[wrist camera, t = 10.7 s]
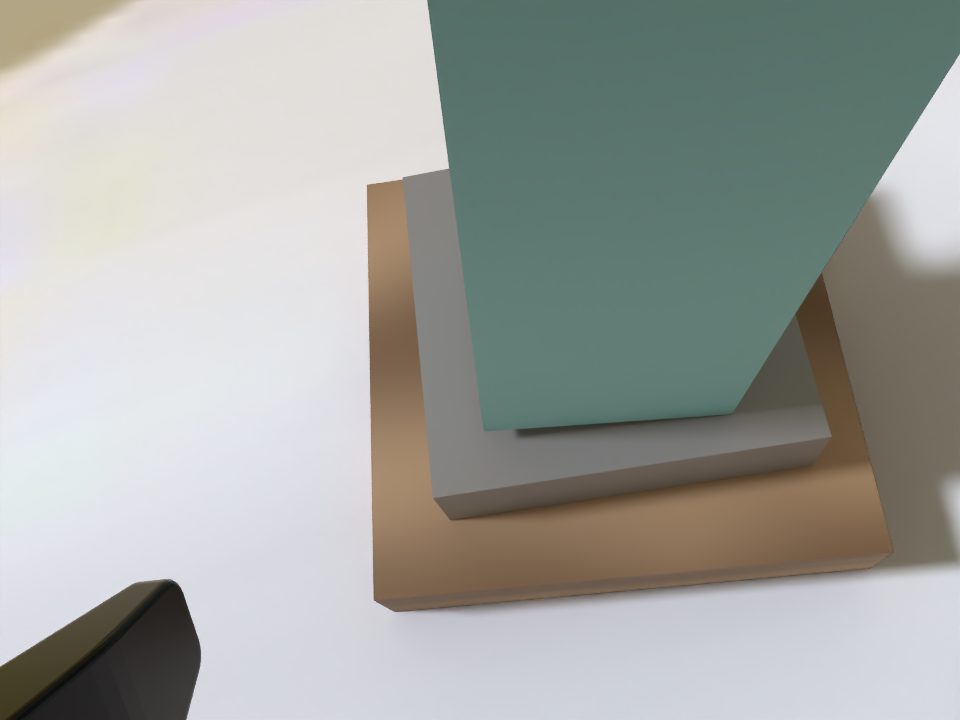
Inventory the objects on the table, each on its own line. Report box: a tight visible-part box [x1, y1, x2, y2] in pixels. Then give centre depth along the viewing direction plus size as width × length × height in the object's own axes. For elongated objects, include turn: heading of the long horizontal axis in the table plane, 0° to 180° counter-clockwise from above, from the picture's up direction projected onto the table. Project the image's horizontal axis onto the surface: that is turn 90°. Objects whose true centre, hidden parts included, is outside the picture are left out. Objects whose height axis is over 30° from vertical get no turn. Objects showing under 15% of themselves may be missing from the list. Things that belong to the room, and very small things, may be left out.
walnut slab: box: [367, 180, 893, 612], centre depth 22 cm, size 11×11×2 cm
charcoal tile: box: [403, 169, 832, 520], centre depth 20 cm, size 8×8×2 cm
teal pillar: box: [427, 0, 960, 432], centre depth 13 cm, size 5×5×13 cm
